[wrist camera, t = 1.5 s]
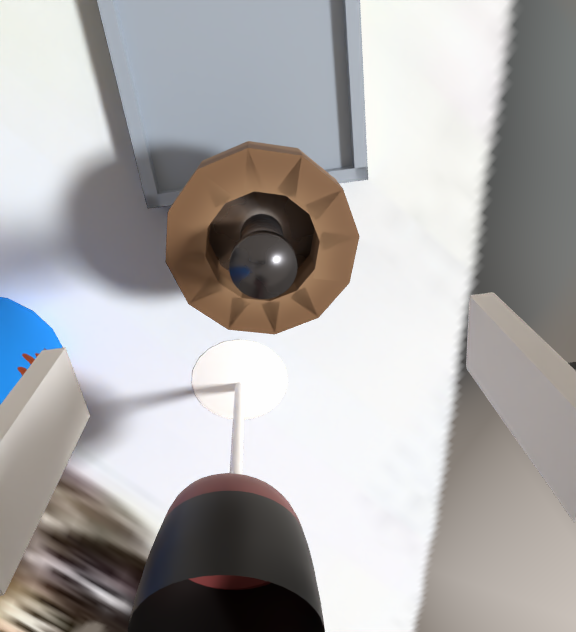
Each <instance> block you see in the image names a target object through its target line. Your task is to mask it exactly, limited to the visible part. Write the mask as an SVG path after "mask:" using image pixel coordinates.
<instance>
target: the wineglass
mask: <svg viewBox="0 0 576 632" xmlns="http://www.w3.org/2000/svg"><path fill="white" fill-rule="evenodd" d="M287 382H288V378H287V373H286V368H285V366H284V364H283V363H282V361H281V359H280V358H279V356H278V355H277V354H275V353H274V352H273V351H272V350H271V349H269V348H268V347H266V346H264V345H261V344H259V343H257V342H254V341H247V340H232V341H226V342H222V343H220V344H218V345H216V346H213V347H211V348H209V349H208V350H207V351H206V352H205V353H204V354H203V355H202V356H201V357H200V358H199V359H198V361H197V363H196V365H195V367H194V369H193V374H192V386H193V389H194V393H195V396H196V397H197V398H198V400H199V401H200V403H201V404H202V405H203V406H204V407H205V408H206V409H208V410H209V411H211V412H212V413H213V414H215V415H218V416H221V417H224V418H226V419H233V427H232V444H231V461H230V473H225V474H216V475H211V476H207V477H204V478H201V479H199V480H197V481H195V482H193V483H192V484H190V485H189V486H188V487H187V488H185V489H184V490H183V491H182V492H181V493H180V494H179V495H178V496H177V498H176V499H175V501H174V502H173V504H172V505H171V507H170V508H169V510H168V512H167V514H166V517H165V519H164V521H163V523H162V526H161V528H160V530H159V532H158V534H157V537H156V539H155V541H154V544H153V546H152V549H151V551H150V554H149V556H148V559H147V562H146V565H145V568H144V571H143V575H142V578H141V581H140V584H139V587H138V590H137V594H136V597H135V601H134V605H133V609H132V613H131V617H130V621H129V627H128V632H325V629H324V622H323V615H322V609H321V602H320V597H319V592H318V587H317V582H316V577H315V572H314V567H313V563H312V558H311V555H310V551H309V548H308V544H307V541H306V538H305V535H304V532H303V529H302V527H301V524H300V522H299V519H298V517H297V515H296V513H295V512H294V510H293V509H292V507H291V505H290V504H289V502H288V501H287V500H286V499H285V498H284V497H283V496H282V495H281V494H280V493H279V492H278V491H277V490H276V489H274V488H273V487H272V486H270V485H269V484H267V483H265V482H263V481H261V480H259V479H256V478H253V477H250V476H246V475H242V463H243V428H244V420H246V419H252V418H257V417H259V416H261V415H264V414H266V413H268V412H269V411H271V410H272V409H273V408H274V407H275V406H276V405H278V404H279V402H280V401H281V399H282V397H283V396H284V394H285V392H286V387H287Z"/></svg>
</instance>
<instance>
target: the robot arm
mask: <svg viewBox="0 0 576 632" xmlns="http://www.w3.org/2000/svg"><path fill="white" fill-rule="evenodd" d="M466 368H467V370H468V371H469V372H470V374H471V375H472V377H473V378H474V380H475V381H476V383H477V384H478V385H479V387H480V388H481V390H482V391H483V393H484V394H485V395H486V397H487V398H488V400H489V401H490V403H491V404H492V406H493V407H494V408H495V410H496V411H497V413H498V414H499V416H500V417H501V418H502V420H503V421H504V423H505V424H506V426H507V427H508V428H509V430H510V431H511V433H512V434H513V436H514V437H515V438H516V440H517V441H518V443H519V444H520V445H521V447H522V449H523V450H524V451H525V453H526V454H527V456H528V457H529V458H530V460H531V462H532V463H533V464H534V466H535V467H536V469H537V470H538V472H539V473H540V474H541V476H542V477H543V479H544V480H545V481H546V483H547V484H548V486H549V487H550V489H551V490H552V492H553V493H554V495H555V496H556V497H557V499H558V500H559V502H560V503H561V504H562V506H563V507H564V509H565V510H566V512H567V513H568V515H569V516H570V517H571V519H572V520H573V522H576V362H572V363H567V362H566V361H565V360H564V359H563V358H562V357H561V356H560V355H559V354H558V353H557V352H555V351H554V350H553V349H552V348H551V347H550V346H549V345H548V344H547V343H546V342H545V341H544V340H543V339H542V338H541V337H540V336H539V335H538V334H537V333H535V332H534V331H533V330H532V329H531V328H530V327H529V326H528V325H527V324H526V323H525V322H524V321H523V320H522V319H521V318H519V316H517V315H516V313H514V312H513V311H512V310H511V309H510V308H509V307H508V306H507V305H506V304H505V303H504V302H503V301H502V300H501V299H500V298H499V297H498V296H497V295H496V294H494V293H493V292H492V293H486V294H477V295H470V298H469V319H468V340H467V363H466ZM89 417H90V414H89V411H88V409H87V406H86V403H85V400H84V398H83V395H82V392H81V389H80V386H79V384H78V381H77V378H76V375H75V373H74V370H73V367H72V364H71V362H70V359H69V356H68V353H67V350H66V348H58V349H50V350H42V351H41V352H40V354H39V355H38V356H37V358H36V359H35V360H34V362H33V363H32V364H31V365H30V367H29V368H28V369H27V371H26V372H25V373H24V375H23V376H22V377H21V379H20V380H19V381H18V382H17V384H16V385H15V386H14V388H13V389H12V390H11V392H10V393H9V394H8V396H7V397H6V398H5V399H4V401H3V402H2V403H1V405H0V595H4V594H5V592H6V590H7V588H8V585H9V583H10V581H11V579H12V577H13V575H14V573H15V571H16V569H17V567H18V565H19V563H20V561H21V559H22V556H23V554H24V552H25V550H26V548H27V546H28V544H29V542H30V540H31V538H32V536H33V534H34V532H35V529H36V527H37V525H38V523H39V521H40V519H41V517H42V515H43V513H44V511H45V509H46V507H47V505H48V502H49V500H50V498H51V496H52V494H53V492H54V490H55V488H56V486H57V484H58V482H59V480H60V478H61V476H62V473H63V471H64V469H65V467H66V465H67V463H68V461H69V459H70V457H71V455H72V453H73V451H74V449H75V446H76V444H77V442H78V440H79V438H80V436H81V434H82V432H83V430H84V428H85V426H86V424H87V422H88V419H89Z"/></svg>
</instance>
